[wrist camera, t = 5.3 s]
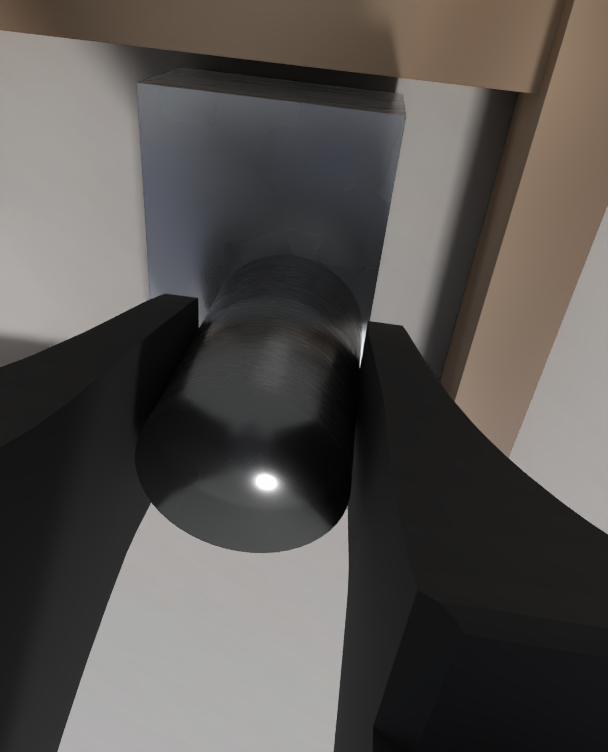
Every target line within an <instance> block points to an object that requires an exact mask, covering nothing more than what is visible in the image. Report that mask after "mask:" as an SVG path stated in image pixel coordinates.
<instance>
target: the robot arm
mask: <svg viewBox="0 0 608 752" xmlns="http://www.w3.org/2000/svg"><path fill="white" fill-rule="evenodd" d="M198 329H199V303H198V298H195V297H188V296H181V295H173V294H166V293H165V294H162V295H160V296H157V297H155V298H152V299H150V300H148V301H146V302H144V303H142V304H140V305H138V306H136V307H134V308H132V309H130V310H128V311H126V312H124V313H122V314H120V315H118V316H116V317H114V318H112V319H110V320H108V321H106V322H104V323H102V324H100V325H98V326H96V327H94V328H92V329H90V330H88V331H86V332H84V333H82V334H79V335H77V336H75V337H73V338H70V339H68V340H66V341H64V342H61V343H59V344H57V345H55V346H52V347H50V348H48V349H46V350H43V351H41V352H39V353H37V354H34V355H32V356H29V357H27V358H24V359H22V360H19V361H17V362H14V363H11V364H9V365H6V366H3V367H0V752H57V751H58V748H59V744H60V741H61V738H62V735H63V732H64V729H65V725H66V722H67V719H68V716H69V713H70V710H71V707H72V704H73V701H74V698H75V695H76V692H77V689H78V686H79V683H80V680H81V677H82V674H83V671H84V668H85V665H86V662H87V659H88V657H89V654H90V651H91V648H92V645H93V643H94V640H95V637H96V634H97V631H98V629H99V626H100V623H101V620H102V617H103V614H104V612H105V609H106V606H107V603H108V601H109V598H110V595H111V593H112V590H113V587H114V585H115V582H116V579H117V577H118V574H119V572H120V569H121V566H122V564H123V561H124V558H125V556H126V553H127V551H128V549H129V547H130V544H131V542H132V540H133V538H134V535H135V533H136V531H137V529H138V527H139V525H140V523H141V521H142V519H143V517H144V515H145V513H146V511H147V509H148V507H149V505H150V503H151V501H150V500H149V498H148V497H147V495H146V494H145V492H144V490H143V488H142V486H141V484H140V481H139V478H138V475H137V471H136V466H135V449H136V443H137V440H138V438H139V435H140V432H141V430H142V429H143V427H144V425H145V423H146V422H147V420H148V418H149V416H150V414H151V413H152V411H153V409H154V407H155V405H156V404H157V402H158V400H159V398H160V397H161V395H162V393H163V391H164V389H165V388H166V386H167V384H168V382H169V380H170V379H171V377H172V375H173V373H174V372H175V370H176V368H177V366H178V364H179V363H180V361H181V359H182V357H183V355H184V354H185V352H186V350H187V348H188V347H189V345H190V343H191V341H192V339H193V338H194V336H195V334H196V332H197V330H198ZM348 542H349V578H348V597H347V609H346V621H345V633H344V645H343V656H342V668H341V679H340V690H339V701H338V712H337V723H336V733H335V744H334V752H608V534H606V533H605V532H603V531H602V530H600V529H599V528H597V527H596V526H594V525H593V524H591V523H590V522H588V521H587V520H585V519H584V518H583V517H581V516H580V515H578V514H577V513H576V512H574V511H573V510H572V509H570V508H569V507H567V506H566V505H565V504H563V503H562V502H561V501H559V500H558V499H557V498H556V497H554V496H553V495H552V494H551V493H549V492H548V491H547V490H546V489H544V488H543V487H542V486H541V485H539V484H538V483H537V482H536V481H534V480H533V479H532V478H531V477H529V476H528V475H527V474H526V473H525V472H523V471H522V470H521V469H520V468H519V467H518V466H517V465H515V464H514V463H513V462H512V461H511V460H510V459H509V458H508V457H507V456H506V455H505V454H504V453H502V452H501V451H500V450H499V449H498V448H497V447H496V446H495V445H494V444H493V443H492V442H491V441H490V440H489V439H488V438H487V437H486V436H485V435H484V434H483V433H482V432H481V431H480V430H479V429H478V428H477V427H476V426H475V425H474V424H473V422H472V421H471V420H470V419H469V418H468V417H467V416H466V414H465V413H464V412H463V411H462V410H461V409H460V407H459V406H458V405H457V404H456V403H455V402H454V400H453V399H452V398H451V397H450V395H449V394H448V393H447V391H446V390H445V389H444V387H443V386H442V384H441V383H440V382H439V380H438V379H437V378H436V376H435V375H434V373H433V372H432V371H431V369H430V368H429V366H428V365H427V363H426V362H425V360H424V358H423V357H422V355H421V354H420V352H419V351H418V349H417V347H416V346H415V344H414V343H413V341H412V339H411V338H410V336H409V334H408V333H407V331H406V330H405V329H404V327H403V326H400V325H393V324H385V323H378V322H371V321H368V324H367V330H366V336H365V341H364V347H363V353H362V359H361V364H360V370H359V384H358V398H357V413H356V427H355V441H354V455H353V469H352V483H351V494H350V499H349V502H348Z"/></svg>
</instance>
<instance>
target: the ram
mask: <svg viewBox="0 0 608 752" xmlns="http://www.w3.org/2000/svg"><path fill="white" fill-rule="evenodd" d="M137 97H138V113H139V128H140V144H141V160H142V176H143V192H144V208H145V224H146V240H147V255H148V271H149V287H150V299H152V298H155V297H157V296H160V295H162V294H165V293H166V294H173V295H181V296H188V297H195V298H198V303H199V329H198V330H197V332H196V334H195V336H194V338H193V339H192V341H191V343H190V345H189V347H188V348H187V350H186V352H185V354H184V355H183V357H182V359H181V361H180V363H179V364H178V366H177V368H176V370H175V372H174V373H173V375H172V377H171V379H170V380H169V382H168V384H167V386H166V388H165V389H164V391H163V393H162V395H161V397H160V398H159V400H158V402H157V404H156V405H155V407H154V409H153V411H152V413H151V414H150V416H149V418H148V420H147V422H146V423H145V425H144V427H143V429H142V430H141V432H140V435H139V438H138V440H137V443H136V449H135V466H136V471H137V475H138V478H139V481H140V484H141V486H142V488H143V490H144V492H145V494H146V495H147V497H148V498H149V500H150V501H151V502H152V504H153V505H154V506H155V507H156V508H157V509H158V511H159V512H160V513H161V514H162V515H164V516H165V517H166V518H167V519H168V520H169V521H170V522H172V523H173V524H174V525H176V526H177V527H178V528H180V529H182V530H183V531H185V532H186V533H188V534H190V535H192V536H194V537H196V538H198V539H200V540H202V541H205V542H207V543H210V544H212V545H216V546H219V547H222V548H226V549H231V550H236V551H242V552H251V553H271V552H280V551H286V550H291V549H295V548H298V547H301V546H304V545H306V544H309V543H311V542H313V541H315V540H317V539H319V538H320V537H322V536H323V535H325V534H326V533H327V532H329V531H330V530H331V529H332V528H333V527H334V526H335V525H336V524H337V523H338V521H339V520H340V519H341V517H342V516H343V514H344V512H345V510H346V508H347V506H348V502H349V499H350V494H351V483H352V469H353V455H354V441H355V427H356V413H357V398H358V384H359V370H360V364H361V359H362V353H363V347H364V341H365V336H366V330H367V324H368V321H370V316H371V310H372V304H373V299H374V293H375V288H376V282H377V276H378V271H379V265H380V260H381V254H382V248H383V243H384V237H385V232H386V226H387V220H388V215H389V209H390V203H391V198H392V192H393V187H394V181H395V175H396V170H397V164H398V159H399V153H400V147H401V142H402V136H403V131H404V125H405V119H406V112H405V106H404V100H403V94H397V93H389V92H381V91H373V90H364V89H356V88H348V87H339V86H331V85H323V84H314V83H306V82H298V81H290V80H281V79H273V78H265V77H256V76H248V75H240V74H231V73H223V72H215V71H206V70H198V69H190V68H182V67H180V68H177V69H174V70H171V71H169V72H166V73H163V74H160V75H157V76H155V77H152V78H149V79H146V80H143V81H140V82H138V83H137Z"/></svg>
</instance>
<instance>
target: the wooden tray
mask: <svg viewBox="0 0 608 752" xmlns="http://www.w3.org/2000/svg"><path fill="white" fill-rule="evenodd" d="M0 30H4V31H13V32H21V33H29V34H38V35H46V36H55V37H63V38H71V39H80V40H88V41H97V42H105V43H113V44H122V45H130V46H138V47H147V48H155V49H164V50H172V51H180V52H189V53H197V54H206V55H214V56H222V57H231V58H239V59H248V60H256V61H264V62H273V63H281V64H290V65H298V66H306V67H315V68H323V69H332V70H340V71H348V72H357V73H365V74H373V75H382V76H390V77H399V78H407V79H415V80H424V81H432V82H441V83H449V84H457V85H466V86H474V87H483V88H491V89H499V90H508V91H516V92H519V94H518V97H517V101H516V105H515V108H514V112H513V116H512V119H511V123H510V127H509V130H508V134H507V138H506V141H505V145H504V149H503V152H502V156H501V159H500V163H499V167H498V170H497V174H496V178H495V181H494V185H493V189H492V192H491V196H490V200H489V203H488V207H487V211H486V214H485V218H484V221H483V225H482V229H481V232H480V236H479V240H478V243H477V247H476V251H475V254H474V258H473V262H472V265H471V269H470V273H469V276H468V280H467V283H466V287H465V291H464V294H463V298H462V302H461V305H460V309H459V313H458V316H457V320H456V324H455V327H454V331H453V334H452V338H451V342H450V345H449V349H448V353H447V356H446V360H445V364H444V367H443V371H442V375H441V378H440V383H441V384H442V386H443V387H444V389H445V390H446V391H447V393H448V394H449V395H450V397H451V398H452V399H453V400H454V402H455V403H456V404H457V405H458V406H459V407H460V409H461V410H462V411H463V412H464V413H465V414H466V416H467V417H468V418H469V419H470V420H471V421H472V422H473V424H474V425H475V426H476V427H477V428H478V429H479V430H480V431H481V432H482V433H483V434H484V435H485V436H486V437H487V438H488V439H489V440H490V441H491V442H492V443H493V444H494V445H495V446H496V447H497V448H498V449H499V450H500V451H501V452H502V453H504V454H505V455H506V456H507V457H508V458H509V456H510V453H511V450H512V448H513V445H514V443H515V440H516V438H517V435H518V433H519V430H520V427H521V425H522V422H523V420H524V417H525V415H526V412H527V410H528V407H529V404H530V402H531V399H532V397H533V394H534V392H535V389H536V387H537V384H538V381H539V379H540V376H541V374H542V371H543V369H544V366H545V364H546V361H547V358H548V356H549V353H550V351H551V348H552V346H553V343H554V341H555V338H556V335H557V333H558V330H559V328H560V325H561V323H562V320H563V318H564V315H565V313H566V310H567V307H568V305H569V302H570V300H571V297H572V295H573V292H574V290H575V287H576V284H577V282H578V279H579V277H580V274H581V272H582V269H583V267H584V264H585V261H586V259H587V256H588V254H589V251H590V249H591V246H592V244H593V241H594V238H595V236H596V233H597V231H598V228H599V226H600V223H601V221H602V218H603V215H604V213H605V210H606V208H607V205H608V0H0ZM346 509H348V506H347V508H346Z"/></svg>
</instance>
